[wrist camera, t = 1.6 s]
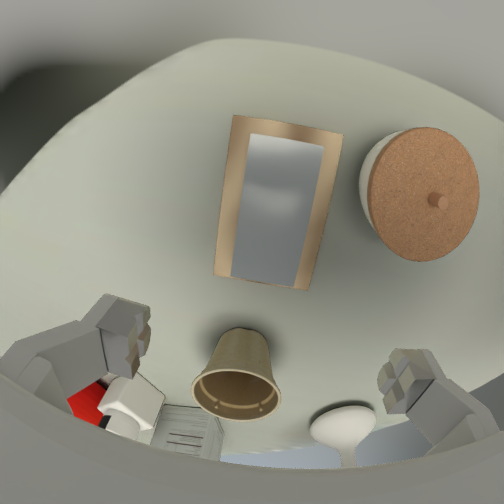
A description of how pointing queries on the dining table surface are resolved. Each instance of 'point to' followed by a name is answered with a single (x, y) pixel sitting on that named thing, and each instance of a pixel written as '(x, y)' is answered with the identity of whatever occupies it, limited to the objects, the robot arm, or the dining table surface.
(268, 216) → the slate tile
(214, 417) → the supplement box
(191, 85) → the dining table surface
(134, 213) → the dining table surface
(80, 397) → the tomato
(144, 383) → the medicine bottle
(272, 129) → the wooden board
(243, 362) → the flower pot
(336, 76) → the dining table surface
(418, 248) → the lidded jar
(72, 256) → the dining table surface
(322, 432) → the flower in vase
